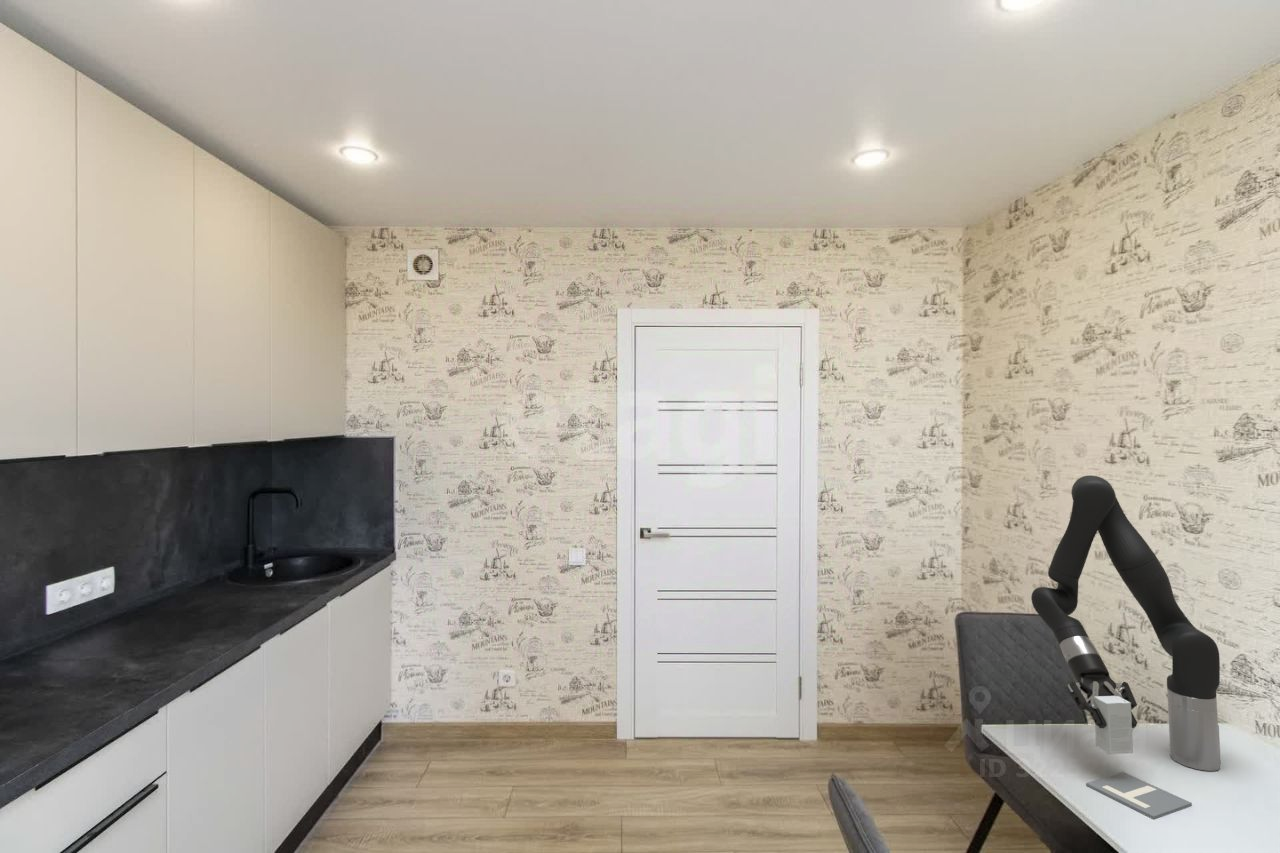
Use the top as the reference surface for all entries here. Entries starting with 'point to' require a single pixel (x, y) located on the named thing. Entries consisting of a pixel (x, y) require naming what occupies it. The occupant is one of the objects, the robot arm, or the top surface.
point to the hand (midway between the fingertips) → (1118, 727)
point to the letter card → (1139, 795)
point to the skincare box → (1114, 725)
